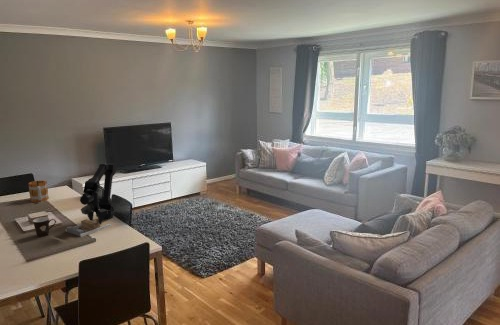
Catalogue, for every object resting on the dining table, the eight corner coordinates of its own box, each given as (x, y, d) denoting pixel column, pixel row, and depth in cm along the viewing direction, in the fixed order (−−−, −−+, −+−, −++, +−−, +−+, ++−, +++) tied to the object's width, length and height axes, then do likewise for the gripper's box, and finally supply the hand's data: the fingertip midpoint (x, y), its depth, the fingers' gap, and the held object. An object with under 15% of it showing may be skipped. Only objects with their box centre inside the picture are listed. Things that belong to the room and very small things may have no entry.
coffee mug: (33, 238, 225) (31, 222, 223) (37, 233, 233) (35, 218, 231) (54, 236, 228) (52, 220, 226) (57, 231, 236) (55, 216, 234)
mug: (29, 199, 309) (27, 181, 306) (48, 196, 316) (46, 179, 313) (31, 205, 293) (28, 186, 290) (50, 202, 300) (48, 184, 297)
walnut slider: (87, 225, 243) (86, 219, 242) (100, 229, 235) (99, 223, 235) (81, 226, 240) (80, 221, 239) (94, 231, 232) (94, 225, 231)
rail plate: (95, 222, 250) (94, 217, 249) (111, 227, 240) (111, 221, 240) (65, 233, 233) (64, 226, 232) (82, 238, 223) (81, 232, 222)
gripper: (73, 201, 236) (75, 224, 239) (91, 205, 226) (93, 229, 229) (89, 196, 245) (91, 219, 248) (106, 200, 235) (109, 224, 238)
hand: (95, 223), depth 240 cm, fingers open, 9 cm apart
